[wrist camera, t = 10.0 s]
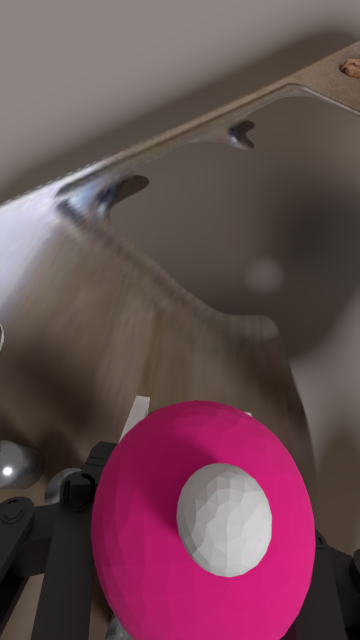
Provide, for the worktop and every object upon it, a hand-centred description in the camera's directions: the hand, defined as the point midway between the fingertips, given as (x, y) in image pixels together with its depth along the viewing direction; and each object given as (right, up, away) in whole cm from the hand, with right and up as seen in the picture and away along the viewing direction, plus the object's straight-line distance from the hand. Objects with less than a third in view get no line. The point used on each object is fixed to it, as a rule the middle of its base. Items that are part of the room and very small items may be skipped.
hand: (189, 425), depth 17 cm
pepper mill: (-1, -8, +5) cm, 9 cm away
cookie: (+57, +87, +80) cm, 131 cm away
